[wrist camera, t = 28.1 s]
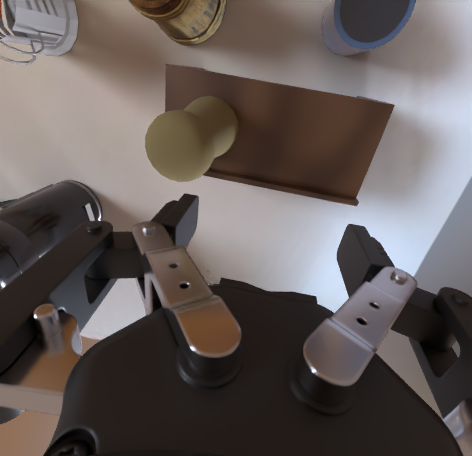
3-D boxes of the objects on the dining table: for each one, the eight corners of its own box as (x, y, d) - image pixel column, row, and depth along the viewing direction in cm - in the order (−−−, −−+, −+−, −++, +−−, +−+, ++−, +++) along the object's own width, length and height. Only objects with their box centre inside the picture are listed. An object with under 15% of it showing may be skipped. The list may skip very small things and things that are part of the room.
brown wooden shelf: (190, 145, 40) (160, 166, 30) (195, 67, 35) (160, 63, 25) (339, 174, 38) (356, 206, 29) (366, 97, 33) (399, 106, 24)
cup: (314, 51, 32) (323, 43, 24) (338, -44, 28) (359, -91, 20) (368, 60, 31) (396, 55, 24) (401, -34, 27) (447, -79, 19)
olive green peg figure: (203, 81, 26) (157, 84, 17) (250, 123, 27) (231, 147, 18) (172, 131, 29) (117, 157, 20) (216, 167, 30) (184, 208, 21)
